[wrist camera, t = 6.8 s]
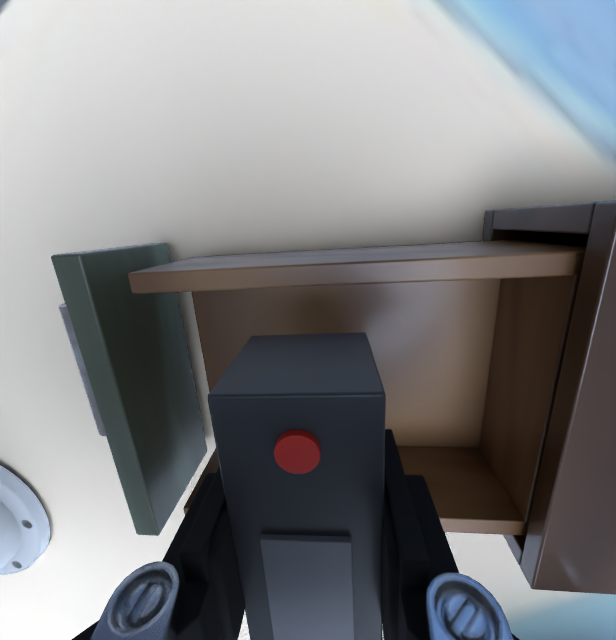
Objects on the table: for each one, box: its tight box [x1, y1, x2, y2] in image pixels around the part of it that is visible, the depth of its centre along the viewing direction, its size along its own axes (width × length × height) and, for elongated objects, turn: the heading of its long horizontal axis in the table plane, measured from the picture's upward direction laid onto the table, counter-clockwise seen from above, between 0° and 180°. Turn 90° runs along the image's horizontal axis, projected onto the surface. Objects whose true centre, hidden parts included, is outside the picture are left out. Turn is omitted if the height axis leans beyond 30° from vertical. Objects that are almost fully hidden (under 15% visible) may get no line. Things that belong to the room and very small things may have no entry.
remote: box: [208, 332, 386, 640], centre depth 9 cm, size 3×9×4 cm, turn 4°
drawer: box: [51, 240, 586, 536], centre depth 15 cm, size 23×14×6 cm, turn 94°
